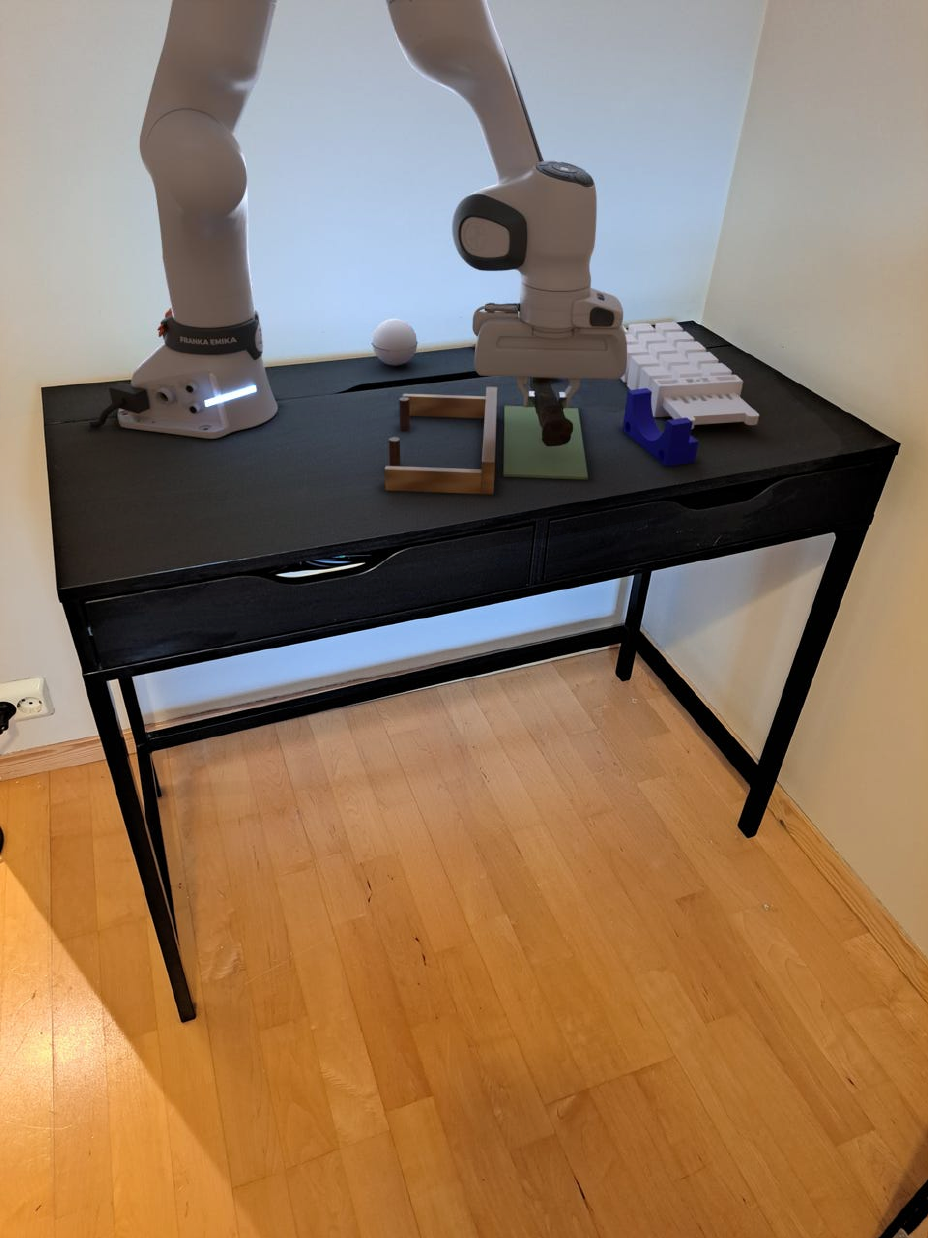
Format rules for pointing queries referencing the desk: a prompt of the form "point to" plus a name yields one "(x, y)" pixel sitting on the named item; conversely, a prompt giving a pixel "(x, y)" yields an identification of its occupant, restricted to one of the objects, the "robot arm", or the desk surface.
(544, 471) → the mat
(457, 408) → the tool rack
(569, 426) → the hand tool
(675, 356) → the organizer
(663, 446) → the cable clip
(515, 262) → the robot arm
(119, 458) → the desk surface
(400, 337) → the white seamed ball
